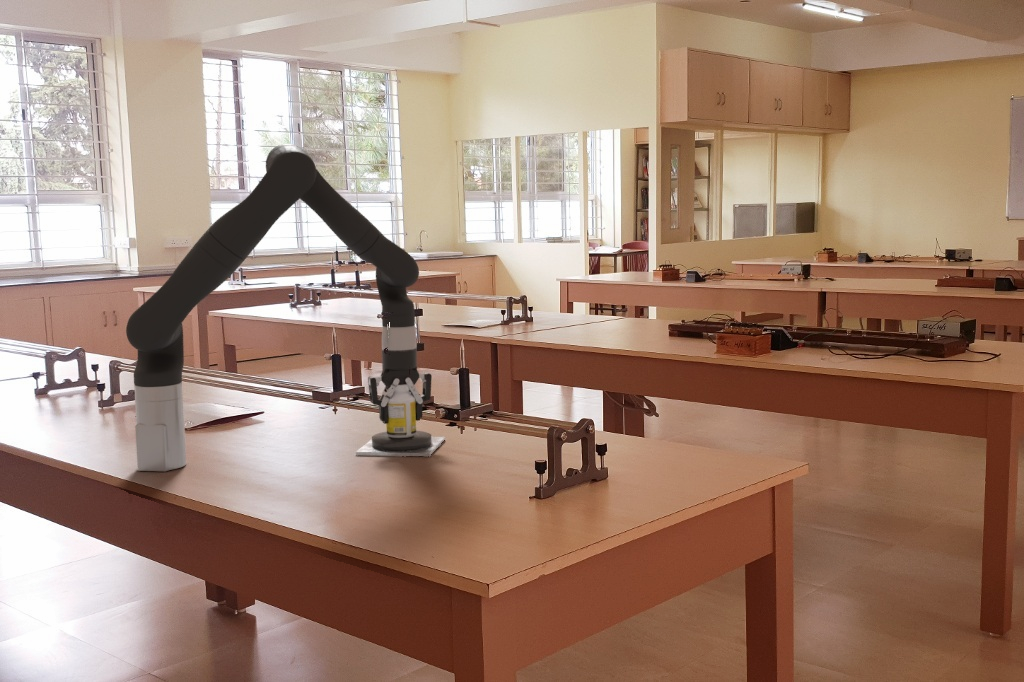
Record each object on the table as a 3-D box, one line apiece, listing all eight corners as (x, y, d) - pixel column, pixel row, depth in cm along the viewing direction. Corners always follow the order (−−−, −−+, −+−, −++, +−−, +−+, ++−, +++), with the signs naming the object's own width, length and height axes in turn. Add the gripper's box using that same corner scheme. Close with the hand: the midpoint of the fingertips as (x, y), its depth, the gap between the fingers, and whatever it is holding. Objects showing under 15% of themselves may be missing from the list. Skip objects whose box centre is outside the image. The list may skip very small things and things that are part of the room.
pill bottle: (413, 431, 223) (411, 380, 222) (418, 437, 217) (417, 385, 216) (384, 434, 221) (382, 382, 220) (389, 440, 215) (387, 386, 214)
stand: (429, 457, 210) (429, 445, 210) (356, 455, 212) (355, 443, 212) (445, 440, 226) (444, 429, 225) (376, 438, 228) (376, 428, 228)
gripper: (425, 342, 223) (427, 415, 225) (362, 346, 217) (364, 421, 219) (436, 346, 216) (437, 422, 218) (370, 350, 210) (373, 427, 212)
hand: (401, 421), depth 219 cm, fingers open, 6 cm apart
